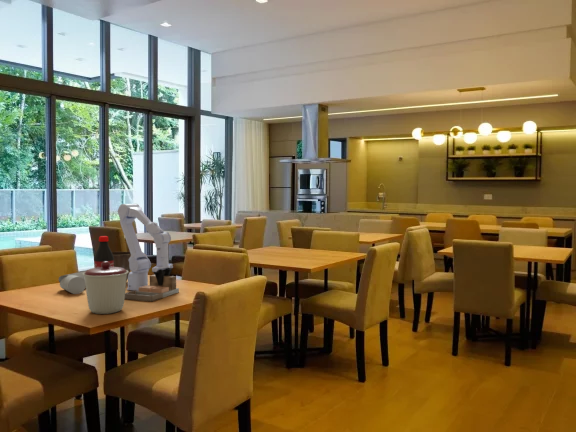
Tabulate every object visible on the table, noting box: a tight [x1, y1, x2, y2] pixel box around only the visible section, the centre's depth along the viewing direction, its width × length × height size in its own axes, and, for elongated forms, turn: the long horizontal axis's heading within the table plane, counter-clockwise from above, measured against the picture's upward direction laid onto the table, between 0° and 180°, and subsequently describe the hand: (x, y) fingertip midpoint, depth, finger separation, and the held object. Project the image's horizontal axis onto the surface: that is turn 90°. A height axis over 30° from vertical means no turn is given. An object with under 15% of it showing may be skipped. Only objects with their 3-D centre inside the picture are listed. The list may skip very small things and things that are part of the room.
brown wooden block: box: [149, 274, 177, 290], centre depth 258 cm, size 13×4×6 cm, turn 69°
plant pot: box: [111, 251, 131, 283], centre depth 284 cm, size 15×15×16 cm
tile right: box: [151, 286, 169, 293], centre depth 250 cm, size 6×6×2 cm
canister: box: [82, 261, 129, 315], centre depth 218 cm, size 18×18×21 cm
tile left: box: [139, 284, 157, 292], centre depth 253 cm, size 6×6×2 cm
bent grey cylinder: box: [58, 270, 87, 295], centre depth 264 cm, size 18×11×20 cm
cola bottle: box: [93, 235, 114, 268], centre depth 234 cm, size 8×8×30 cm
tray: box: [124, 290, 164, 303], centre depth 244 cm, size 16×8×2 cm, turn 69°
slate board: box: [136, 287, 180, 298], centre depth 254 cm, size 15×14×2 cm
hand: (162, 284), depth 258 cm, fingers closed on brown wooden block, 3 cm apart
